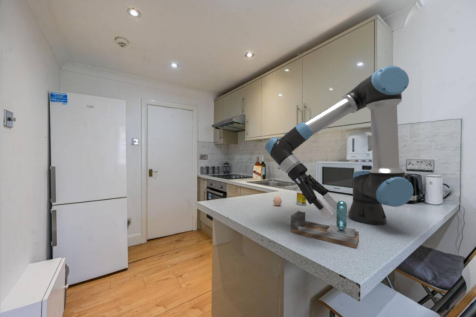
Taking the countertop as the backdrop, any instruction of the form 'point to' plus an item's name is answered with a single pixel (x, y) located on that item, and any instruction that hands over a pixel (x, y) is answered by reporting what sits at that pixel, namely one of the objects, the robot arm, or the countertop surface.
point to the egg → (277, 201)
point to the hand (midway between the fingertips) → (334, 212)
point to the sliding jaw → (341, 222)
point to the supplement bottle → (300, 198)
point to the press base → (319, 231)
